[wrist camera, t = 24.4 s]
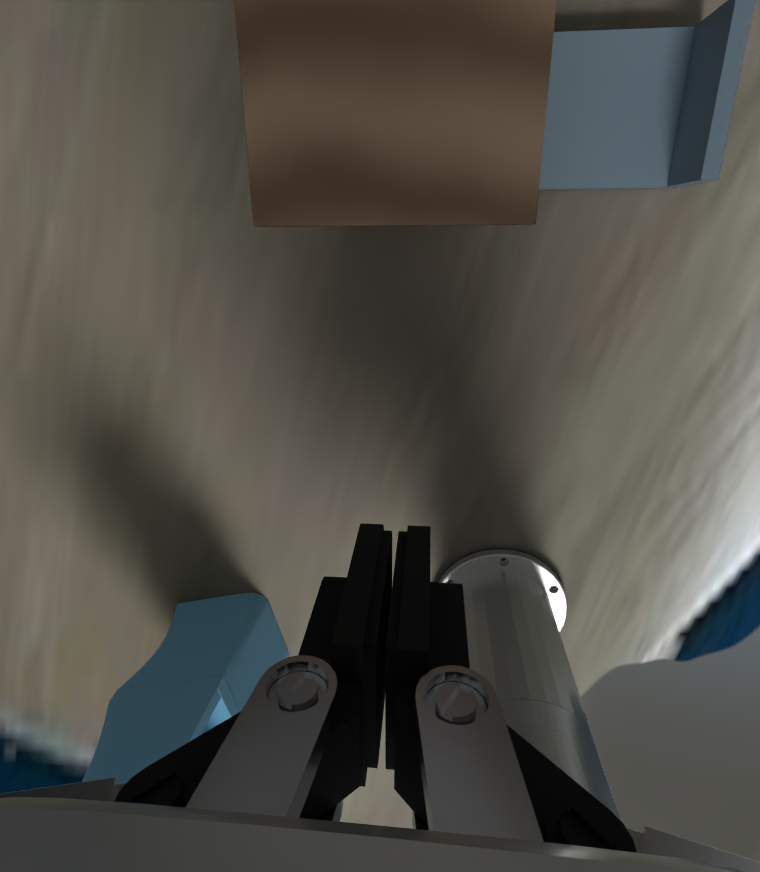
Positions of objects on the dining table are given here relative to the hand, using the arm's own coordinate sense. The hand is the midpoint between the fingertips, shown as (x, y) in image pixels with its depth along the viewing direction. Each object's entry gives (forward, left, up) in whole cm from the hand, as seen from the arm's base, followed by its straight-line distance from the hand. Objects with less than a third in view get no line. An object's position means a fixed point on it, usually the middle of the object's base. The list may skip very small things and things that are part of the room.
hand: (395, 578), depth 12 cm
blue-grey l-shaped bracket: (+15, -6, -32) cm, 36 cm away
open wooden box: (+15, +1, -32) cm, 35 cm away
